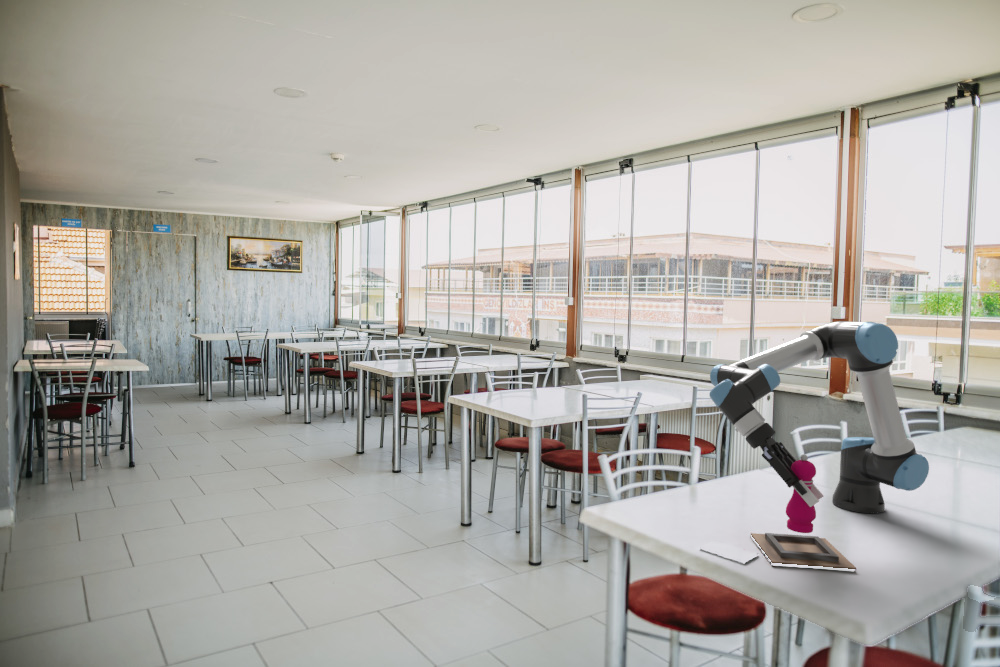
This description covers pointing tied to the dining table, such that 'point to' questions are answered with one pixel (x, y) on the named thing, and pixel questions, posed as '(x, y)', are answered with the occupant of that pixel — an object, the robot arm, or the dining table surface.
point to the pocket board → (801, 550)
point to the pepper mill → (801, 499)
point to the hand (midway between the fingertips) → (817, 501)
